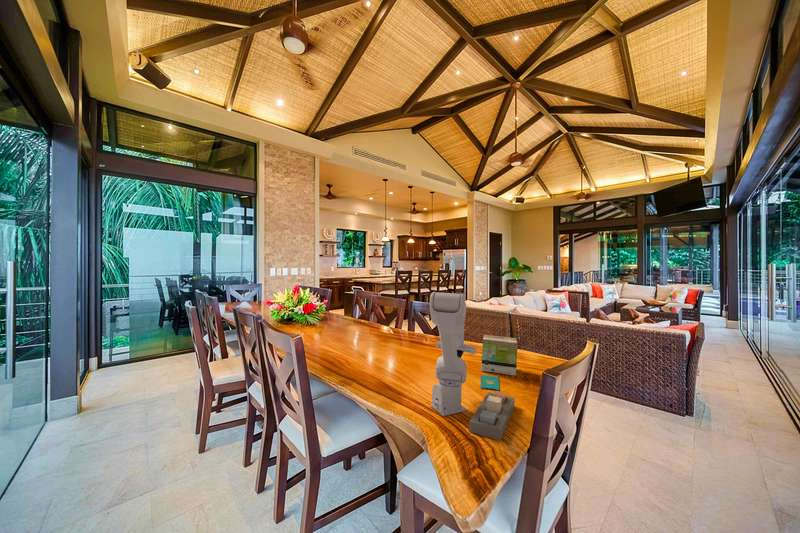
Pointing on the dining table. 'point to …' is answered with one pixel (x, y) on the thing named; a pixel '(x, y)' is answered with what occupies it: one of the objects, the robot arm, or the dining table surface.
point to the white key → (494, 404)
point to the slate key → (488, 417)
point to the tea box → (499, 354)
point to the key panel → (501, 422)
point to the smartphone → (490, 382)
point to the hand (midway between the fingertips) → (455, 369)
